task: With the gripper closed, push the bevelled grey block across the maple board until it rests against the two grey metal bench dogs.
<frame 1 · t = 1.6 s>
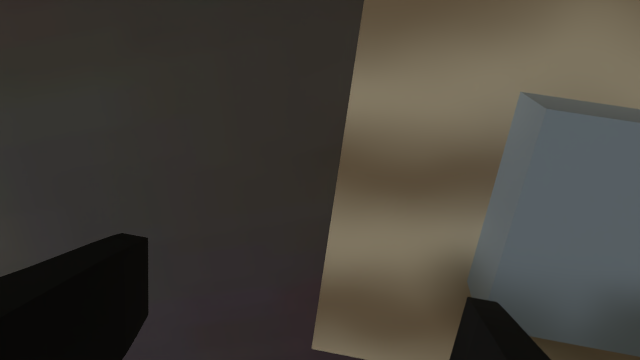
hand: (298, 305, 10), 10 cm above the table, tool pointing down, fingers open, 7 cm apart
board: (611, 203, 19), on the table
bevelled grey block: (570, 207, 18), point 1 cm above the table, touching board
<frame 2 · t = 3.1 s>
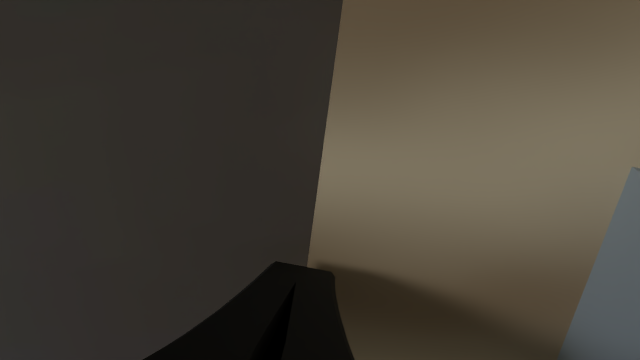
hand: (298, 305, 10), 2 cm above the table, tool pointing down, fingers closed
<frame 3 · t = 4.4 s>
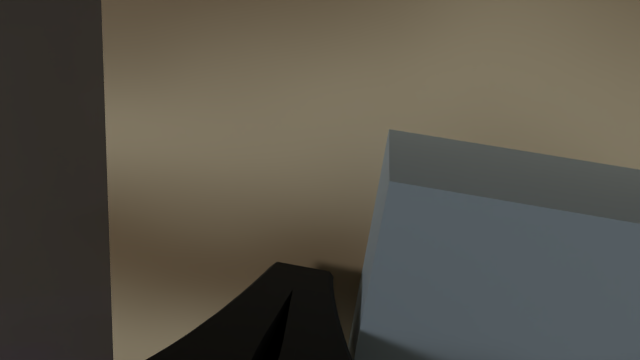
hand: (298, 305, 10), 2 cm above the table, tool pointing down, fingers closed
board: (559, 305, 12), on the table
bevelled grey block: (488, 320, 11), point 1 cm above the table, touching gripper
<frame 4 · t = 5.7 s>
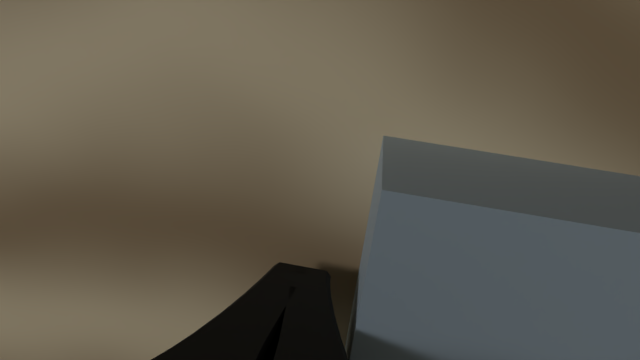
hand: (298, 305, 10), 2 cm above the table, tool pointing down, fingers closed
board: (319, 261, 12), on the table
bevelled grey block: (483, 325, 11), point 1 cm above the table, touching bench dogs, board, gripper
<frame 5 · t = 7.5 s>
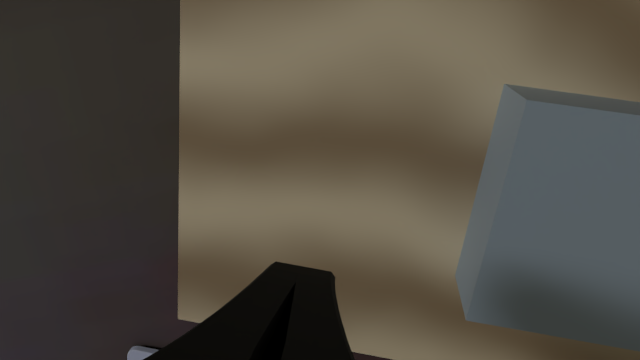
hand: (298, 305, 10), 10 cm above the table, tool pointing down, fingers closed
board: (448, 169, 19), on the table
bevelled grey block: (557, 199, 18), point 1 cm above the table, touching bench dogs, board
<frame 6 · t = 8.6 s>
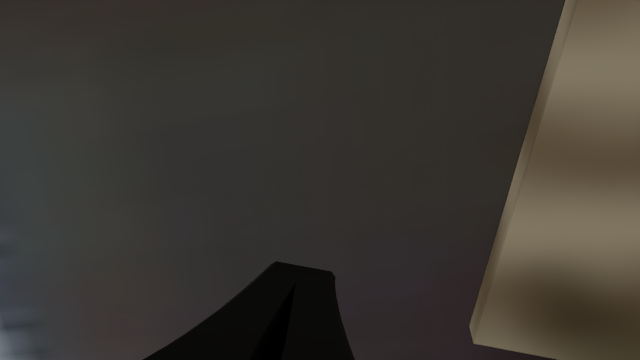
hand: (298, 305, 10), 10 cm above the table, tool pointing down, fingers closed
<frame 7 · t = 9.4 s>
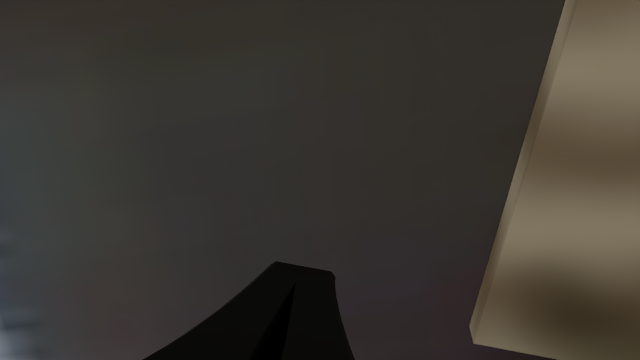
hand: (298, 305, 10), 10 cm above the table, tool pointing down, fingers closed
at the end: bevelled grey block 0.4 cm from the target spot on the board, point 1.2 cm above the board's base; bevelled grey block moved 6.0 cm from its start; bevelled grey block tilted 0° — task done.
